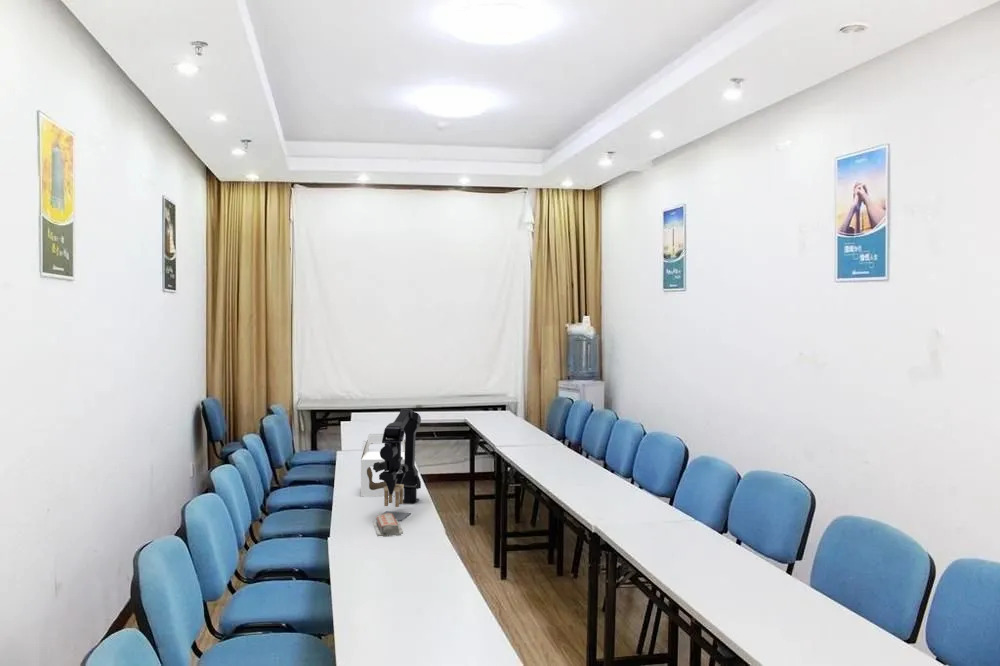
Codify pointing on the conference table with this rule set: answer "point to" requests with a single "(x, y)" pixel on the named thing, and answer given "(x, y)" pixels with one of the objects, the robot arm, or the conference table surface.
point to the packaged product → (387, 525)
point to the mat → (398, 515)
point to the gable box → (368, 460)
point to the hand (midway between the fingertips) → (393, 492)
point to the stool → (398, 495)
